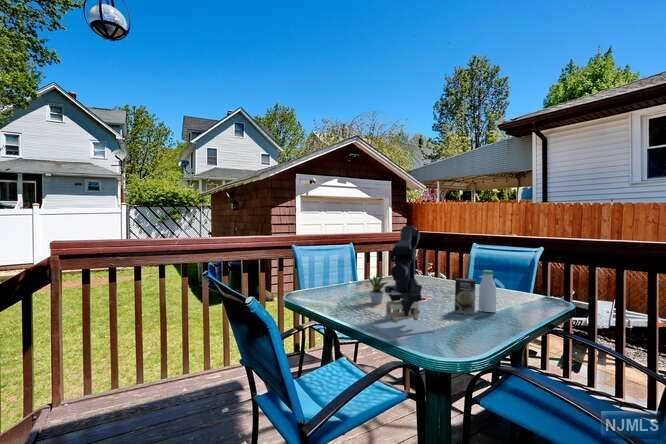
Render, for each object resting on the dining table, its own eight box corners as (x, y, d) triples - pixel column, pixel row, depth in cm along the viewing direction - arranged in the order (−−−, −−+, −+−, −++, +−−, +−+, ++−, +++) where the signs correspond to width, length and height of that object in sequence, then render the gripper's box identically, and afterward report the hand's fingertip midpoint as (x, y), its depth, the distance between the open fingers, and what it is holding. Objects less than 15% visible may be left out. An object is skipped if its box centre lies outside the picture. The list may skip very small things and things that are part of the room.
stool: (386, 318, 140) (386, 301, 140) (409, 315, 144) (409, 299, 144) (394, 323, 134) (394, 305, 134) (418, 320, 138) (418, 303, 138)
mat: (412, 321, 150) (412, 319, 150) (433, 331, 136) (433, 330, 136) (371, 326, 142) (371, 324, 142) (389, 337, 128) (389, 336, 128)
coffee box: (454, 313, 163) (454, 279, 163) (455, 309, 169) (455, 277, 169) (475, 315, 159) (475, 281, 159) (475, 311, 165) (475, 278, 165)
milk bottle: (498, 314, 162) (498, 272, 162) (480, 313, 164) (481, 271, 163) (493, 309, 170) (494, 269, 169) (477, 308, 171) (477, 269, 171)
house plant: (365, 307, 172) (365, 275, 172) (358, 300, 186) (358, 271, 186) (392, 306, 175) (392, 274, 175) (382, 299, 189) (383, 270, 189)
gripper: (433, 278, 133) (432, 318, 133) (406, 271, 150) (406, 306, 151) (408, 280, 129) (408, 321, 129) (384, 272, 146) (384, 308, 147)
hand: (402, 314), depth 139 cm, fingers closed on stool, 6 cm apart
